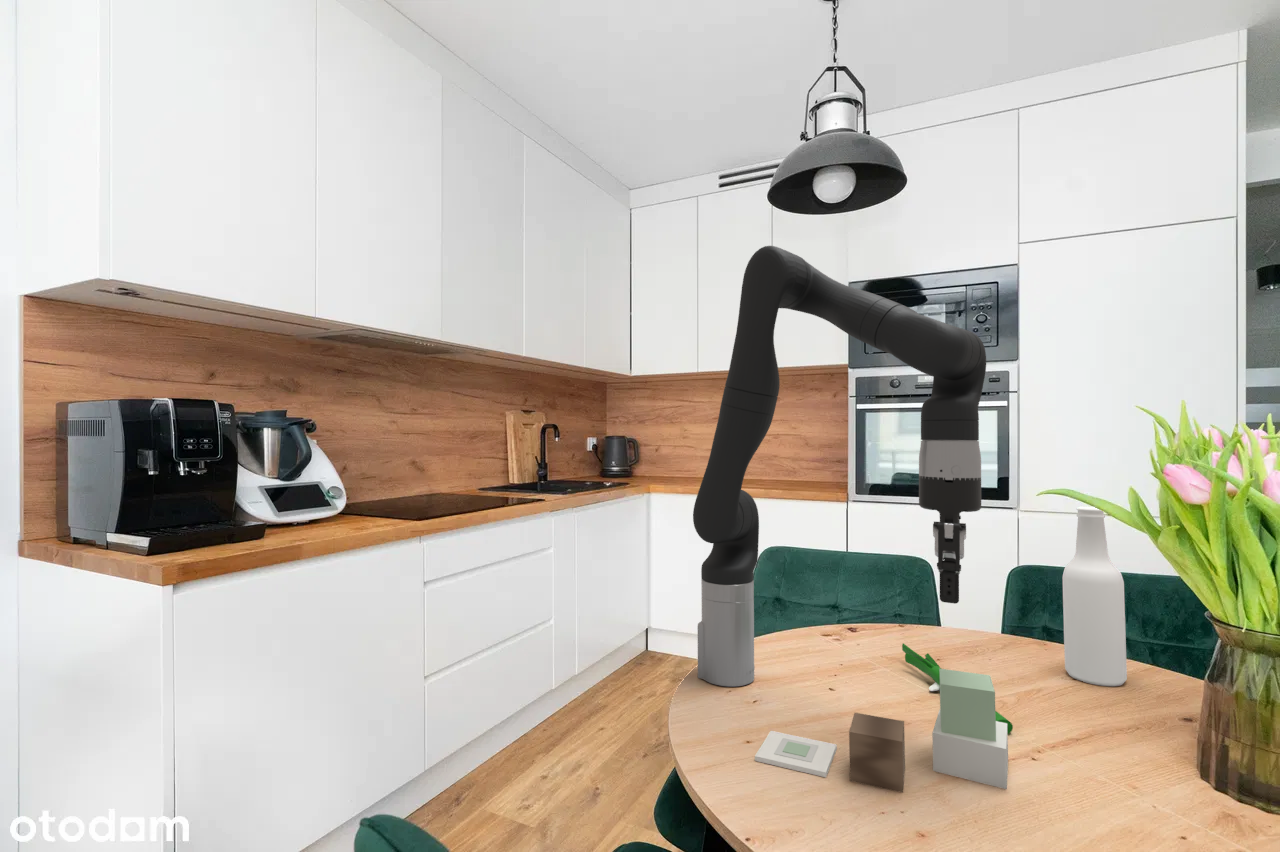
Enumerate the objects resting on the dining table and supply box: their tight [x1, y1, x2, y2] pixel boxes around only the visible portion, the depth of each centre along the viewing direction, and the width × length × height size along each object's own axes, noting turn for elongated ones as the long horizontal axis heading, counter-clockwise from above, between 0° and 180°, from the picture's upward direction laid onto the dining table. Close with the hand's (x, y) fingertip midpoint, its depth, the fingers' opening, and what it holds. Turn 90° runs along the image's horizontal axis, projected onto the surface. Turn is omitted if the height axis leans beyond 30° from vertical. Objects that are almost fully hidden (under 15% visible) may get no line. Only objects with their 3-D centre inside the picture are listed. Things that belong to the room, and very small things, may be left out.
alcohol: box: [1061, 505, 1128, 687], centre depth 108 cm, size 9×9×30 cm
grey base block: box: [931, 709, 1009, 790], centre depth 78 cm, size 8×8×5 cm
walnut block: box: [848, 712, 906, 793], centre depth 76 cm, size 6×6×6 cm
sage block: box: [939, 667, 996, 741], centre depth 79 cm, size 6×6×6 cm
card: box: [754, 730, 838, 778], centre depth 81 cm, size 9×8×1 cm
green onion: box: [901, 643, 1014, 735], centre depth 102 cm, size 5×3×30 cm
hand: (949, 594), depth 82 cm, fingers open, 8 cm apart
